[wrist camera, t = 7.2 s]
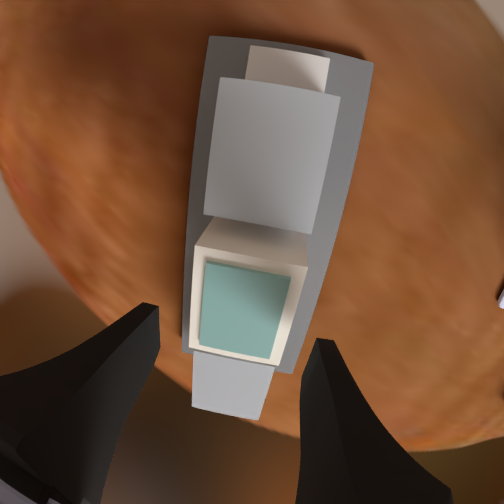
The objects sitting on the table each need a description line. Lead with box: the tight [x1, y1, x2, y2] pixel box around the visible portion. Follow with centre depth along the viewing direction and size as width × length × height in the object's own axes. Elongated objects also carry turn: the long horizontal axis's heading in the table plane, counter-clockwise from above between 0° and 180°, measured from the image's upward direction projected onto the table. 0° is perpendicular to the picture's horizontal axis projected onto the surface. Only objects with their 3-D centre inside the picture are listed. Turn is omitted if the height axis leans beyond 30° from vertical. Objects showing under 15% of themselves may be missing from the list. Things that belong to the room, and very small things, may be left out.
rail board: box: [182, 36, 374, 420], centre depth 15 cm, size 8×20×6 cm, turn 172°
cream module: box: [189, 216, 308, 366], centre depth 14 cm, size 4×5×5 cm
